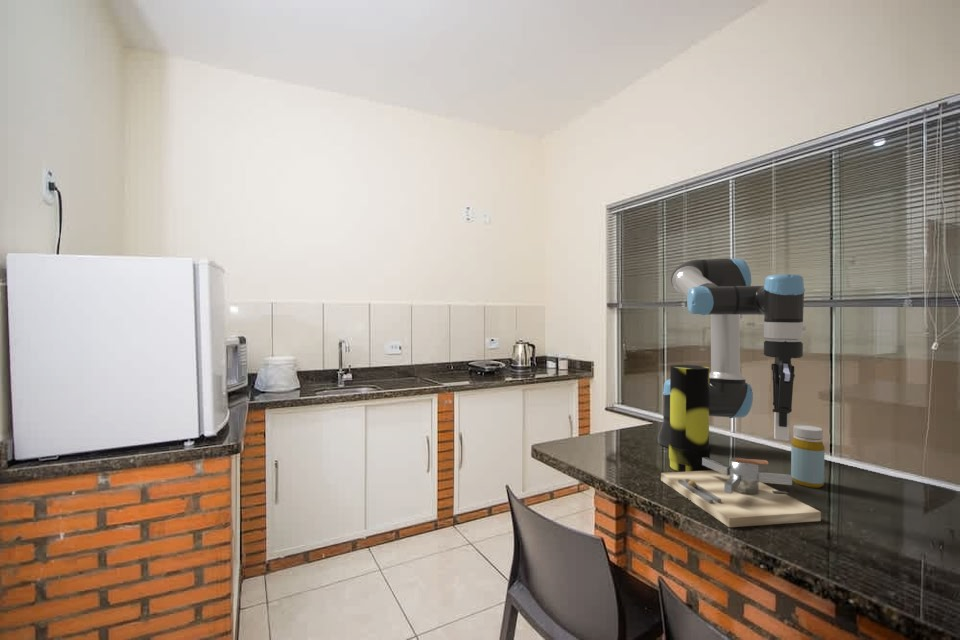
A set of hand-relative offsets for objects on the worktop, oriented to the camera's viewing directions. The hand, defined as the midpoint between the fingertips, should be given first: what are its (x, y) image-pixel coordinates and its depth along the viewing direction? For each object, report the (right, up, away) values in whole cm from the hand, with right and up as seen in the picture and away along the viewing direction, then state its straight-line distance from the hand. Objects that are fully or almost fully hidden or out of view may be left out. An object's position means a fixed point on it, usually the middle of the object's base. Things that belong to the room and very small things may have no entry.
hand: (781, 439), depth 100 cm
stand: (-10, -16, +3) cm, 19 cm away
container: (-10, -16, +24) cm, 30 cm away
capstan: (-5, -13, +3) cm, 15 cm away
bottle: (+16, -16, +13) cm, 26 cm away
